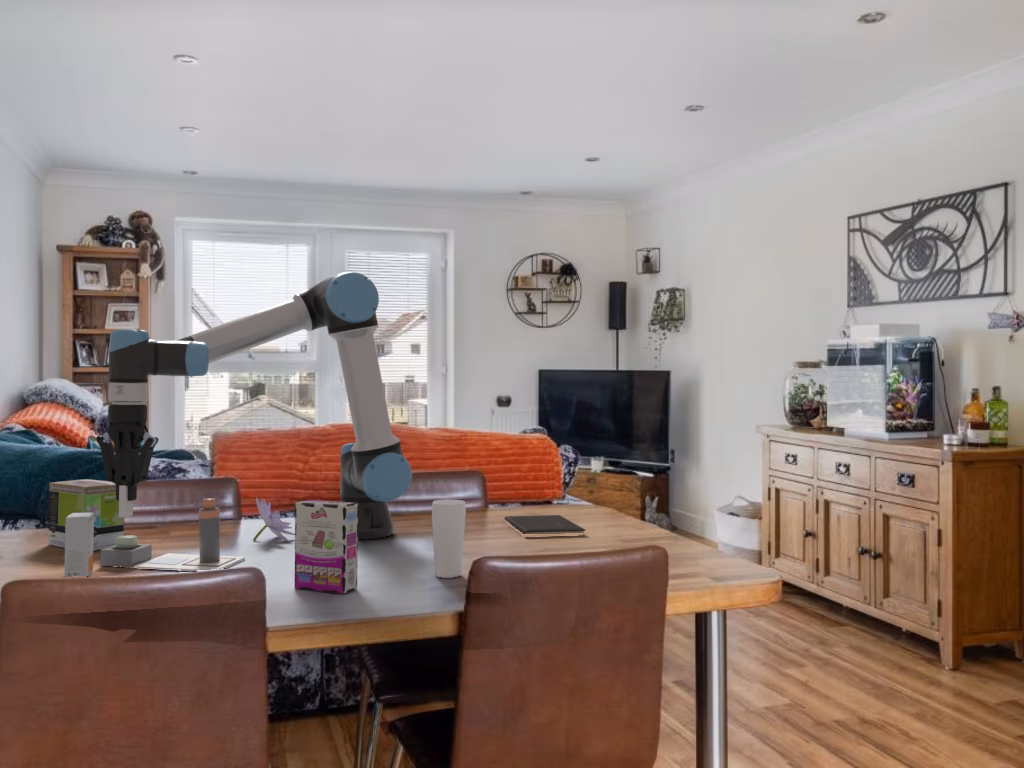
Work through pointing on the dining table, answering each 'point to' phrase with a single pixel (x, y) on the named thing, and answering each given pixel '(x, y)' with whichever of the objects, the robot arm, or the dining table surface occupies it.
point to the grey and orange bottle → (209, 532)
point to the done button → (126, 542)
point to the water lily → (272, 520)
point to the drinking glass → (448, 536)
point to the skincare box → (79, 544)
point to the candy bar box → (326, 546)
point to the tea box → (85, 510)
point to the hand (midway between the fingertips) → (125, 516)
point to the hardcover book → (543, 524)
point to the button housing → (126, 556)
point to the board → (188, 562)
